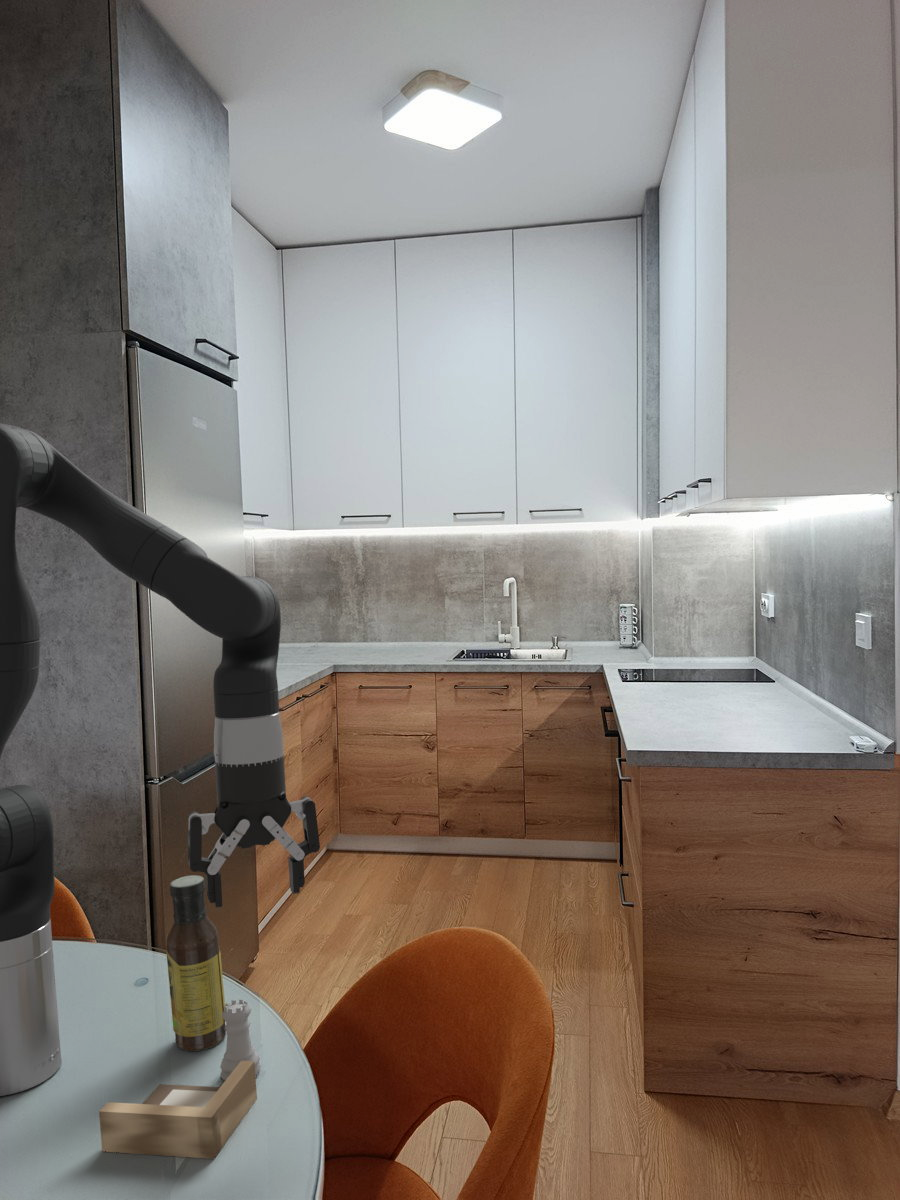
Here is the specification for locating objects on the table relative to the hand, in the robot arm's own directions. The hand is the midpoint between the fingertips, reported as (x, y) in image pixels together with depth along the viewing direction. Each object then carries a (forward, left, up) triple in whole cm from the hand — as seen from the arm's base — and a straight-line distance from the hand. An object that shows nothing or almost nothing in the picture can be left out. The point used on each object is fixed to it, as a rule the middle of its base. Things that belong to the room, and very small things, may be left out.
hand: (257, 898), depth 96 cm
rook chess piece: (-3, 0, -20) cm, 20 cm away
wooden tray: (-6, -9, -20) cm, 23 cm away
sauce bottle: (-12, +6, -20) cm, 24 cm away
